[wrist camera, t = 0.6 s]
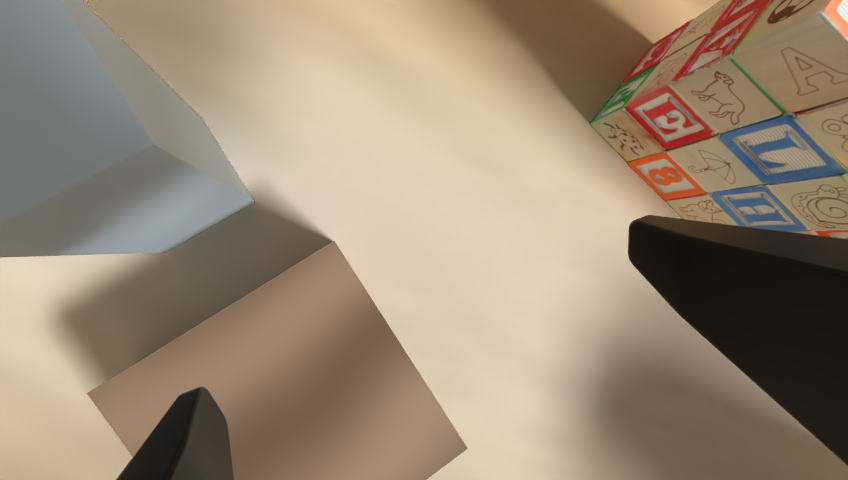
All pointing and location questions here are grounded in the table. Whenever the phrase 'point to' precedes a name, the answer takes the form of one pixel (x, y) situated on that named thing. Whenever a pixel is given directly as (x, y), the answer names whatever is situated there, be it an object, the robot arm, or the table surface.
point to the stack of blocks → (743, 116)
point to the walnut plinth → (296, 383)
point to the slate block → (98, 143)
